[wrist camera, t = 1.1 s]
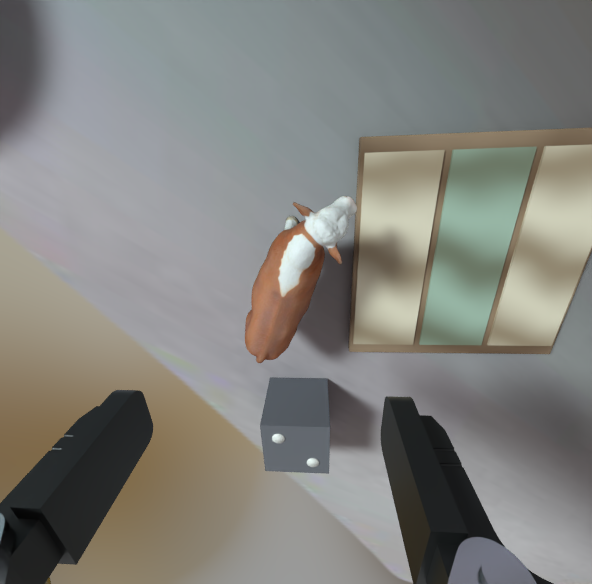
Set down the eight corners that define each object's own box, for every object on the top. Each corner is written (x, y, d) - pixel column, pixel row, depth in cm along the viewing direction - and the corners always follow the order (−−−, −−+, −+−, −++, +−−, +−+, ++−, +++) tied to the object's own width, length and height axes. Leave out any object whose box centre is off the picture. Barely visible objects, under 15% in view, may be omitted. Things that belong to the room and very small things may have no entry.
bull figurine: (356, 196, 22) (376, 213, 15) (285, 328, 28) (274, 389, 20) (305, 170, 22) (300, 174, 14) (243, 309, 27) (216, 365, 20)
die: (270, 377, 30) (259, 426, 24) (328, 378, 30) (331, 428, 24) (273, 419, 33) (265, 472, 27) (327, 421, 32) (330, 475, 27)
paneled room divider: (359, 138, 20) (361, 136, 20) (629, 127, 19) (645, 125, 18) (348, 346, 28) (349, 352, 27) (543, 348, 27) (551, 355, 26)
